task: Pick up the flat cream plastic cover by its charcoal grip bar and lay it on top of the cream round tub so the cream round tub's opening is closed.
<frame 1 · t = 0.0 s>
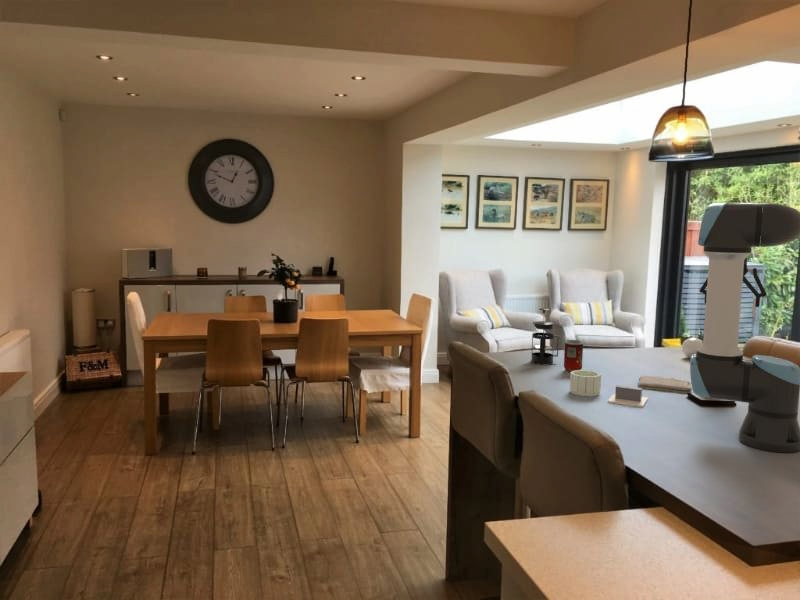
hand: (730, 315, 220), 28 cm above the counter, tool pointing down, fingers open, 13 cm apart
cream round tub: (584, 393, 224), on the counter
soda can: (572, 371, 256), on the counter
french press: (543, 362, 272), on the counter
cover: (628, 402, 215), on the counter
travel mug: (709, 395, 223), on the counter
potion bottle: (699, 359, 282), on the counter
washcloth: (664, 389, 233), on the counter
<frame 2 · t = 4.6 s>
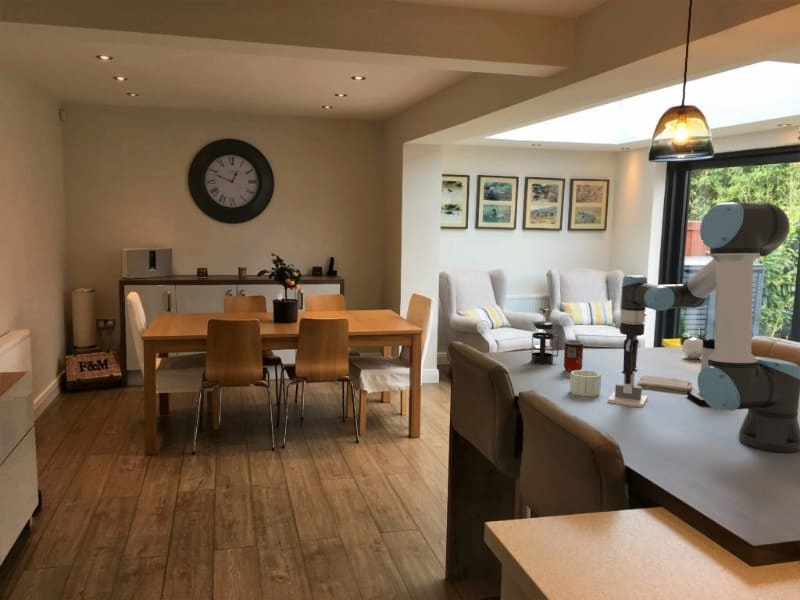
hand: (628, 391, 214), 3 cm above the counter, tool pointing down, fingers closed on cover, 2 cm apart
cover: (627, 401, 215), on the counter, touching gripper
everything else where it was.
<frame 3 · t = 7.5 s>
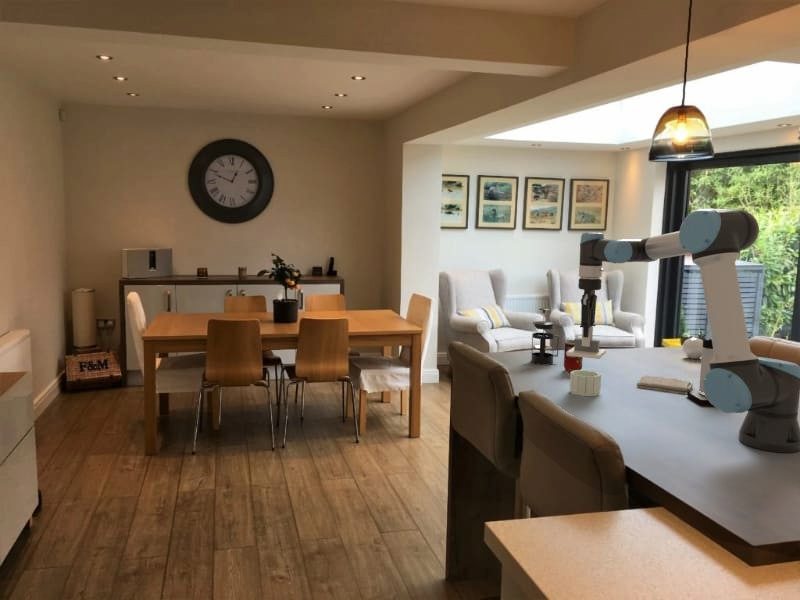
hand: (586, 345, 222), 17 cm above the counter, tool pointing down, fingers closed on cover, 2 cm apart
cover: (586, 354, 223), point 14 cm above the counter, touching gripper
everything else where it was.
when the fingers open (11 cm above the counter, at t = 8.5 s): cover drops 1 cm, point 7 cm above the counter.
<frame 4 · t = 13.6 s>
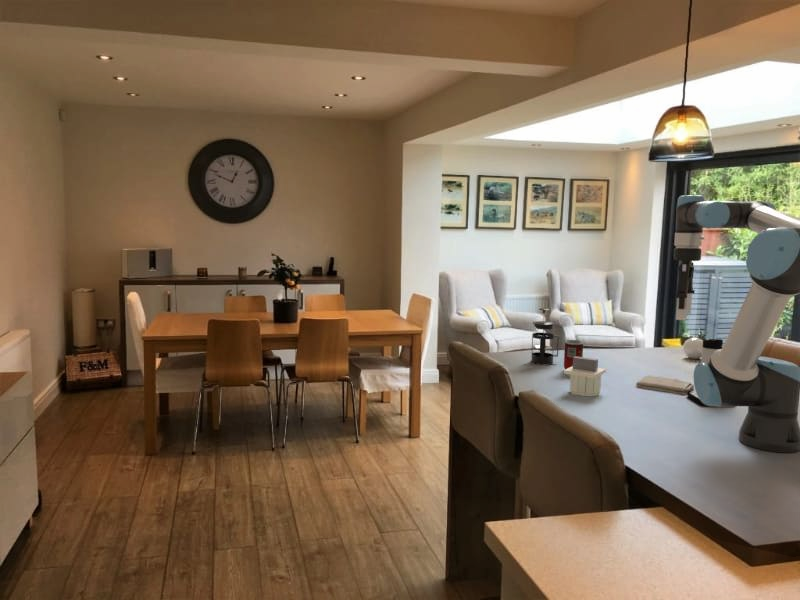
hand: (683, 317, 196), 31 cm above the counter, tool pointing down, fingers open, 13 cm apart
cover: (584, 373, 224), point 7 cm above the counter
at the end: cover 0.6 cm from the cream round tub (horizontally); cover point 6.9 cm above the counter; the gripper is holding nothing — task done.
